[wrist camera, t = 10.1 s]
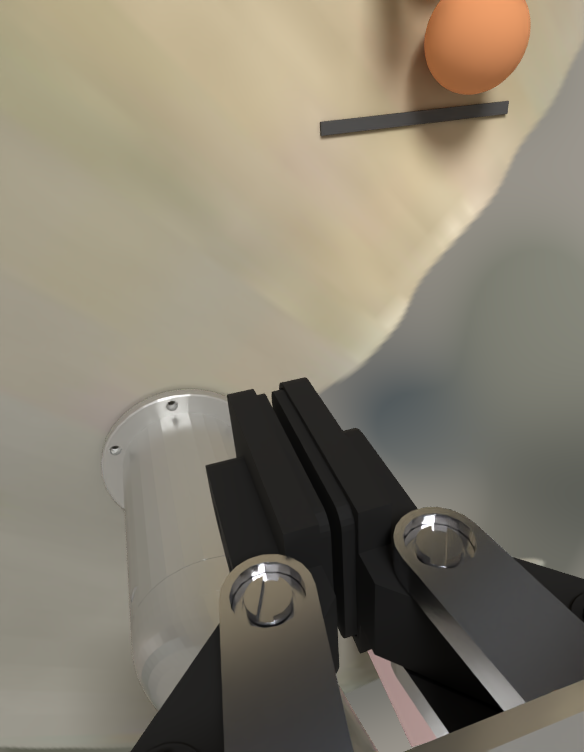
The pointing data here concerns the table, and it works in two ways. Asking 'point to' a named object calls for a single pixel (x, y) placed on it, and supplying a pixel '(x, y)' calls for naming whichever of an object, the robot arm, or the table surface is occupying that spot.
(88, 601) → the table surface
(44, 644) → the table surface
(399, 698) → the greeting card
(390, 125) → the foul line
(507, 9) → the ball
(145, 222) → the table surface
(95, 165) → the table surface
